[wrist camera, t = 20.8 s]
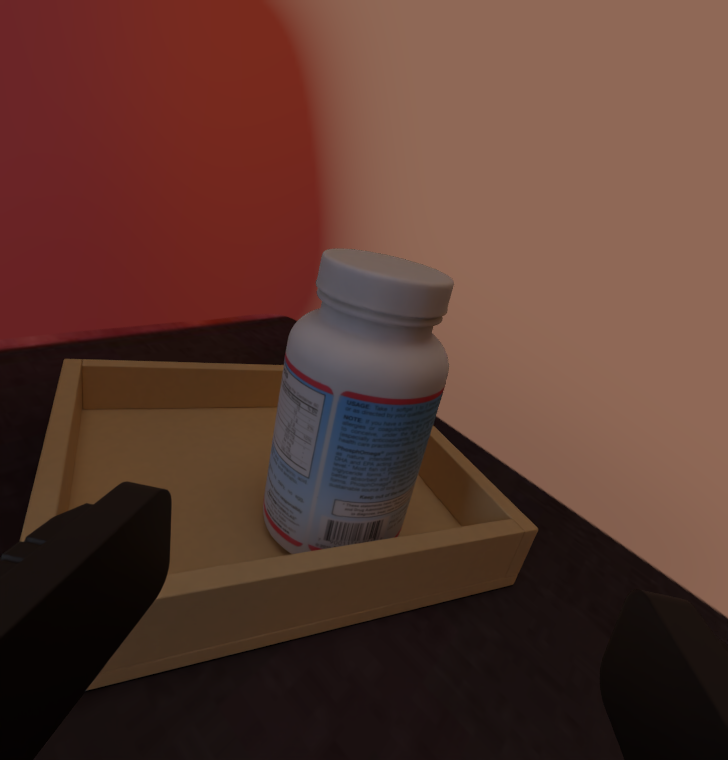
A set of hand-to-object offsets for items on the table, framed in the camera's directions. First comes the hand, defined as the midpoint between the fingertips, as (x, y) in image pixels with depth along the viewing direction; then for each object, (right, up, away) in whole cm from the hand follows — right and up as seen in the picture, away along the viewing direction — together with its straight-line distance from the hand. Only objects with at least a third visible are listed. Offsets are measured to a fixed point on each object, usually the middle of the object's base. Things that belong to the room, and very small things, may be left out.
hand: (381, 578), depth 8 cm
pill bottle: (-2, -3, +12) cm, 13 cm away
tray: (-5, -2, +14) cm, 15 cm away
